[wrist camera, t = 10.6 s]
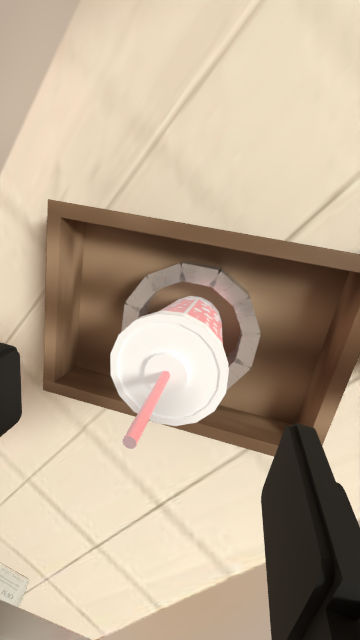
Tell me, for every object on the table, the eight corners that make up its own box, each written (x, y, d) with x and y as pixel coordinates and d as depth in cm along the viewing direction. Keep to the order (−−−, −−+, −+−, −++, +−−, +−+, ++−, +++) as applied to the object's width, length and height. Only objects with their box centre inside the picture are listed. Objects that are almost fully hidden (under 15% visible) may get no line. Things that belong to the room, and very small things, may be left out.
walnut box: (80, 207, 22) (48, 199, 18) (365, 257, 19) (397, 260, 15) (70, 369, 27) (43, 389, 23) (300, 431, 24) (312, 467, 20)
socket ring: (142, 251, 21) (130, 252, 19) (270, 277, 20) (275, 281, 18) (127, 364, 24) (115, 377, 22) (238, 394, 23) (239, 411, 20)
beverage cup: (149, 345, 23) (36, 478, 10) (166, 276, 21) (55, 327, 8) (218, 368, 23) (194, 542, 9) (241, 299, 21) (254, 394, 7)
